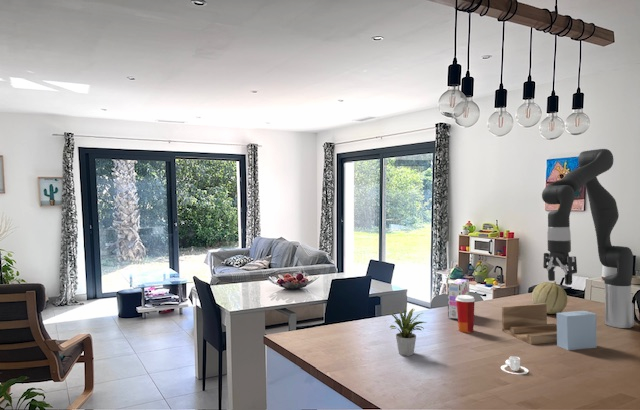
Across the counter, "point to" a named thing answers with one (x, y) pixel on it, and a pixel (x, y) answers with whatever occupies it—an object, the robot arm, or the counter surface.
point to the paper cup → (465, 313)
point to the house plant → (406, 332)
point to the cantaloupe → (550, 297)
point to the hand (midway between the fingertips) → (559, 282)
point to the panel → (576, 330)
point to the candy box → (454, 290)
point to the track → (528, 323)
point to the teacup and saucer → (514, 365)
